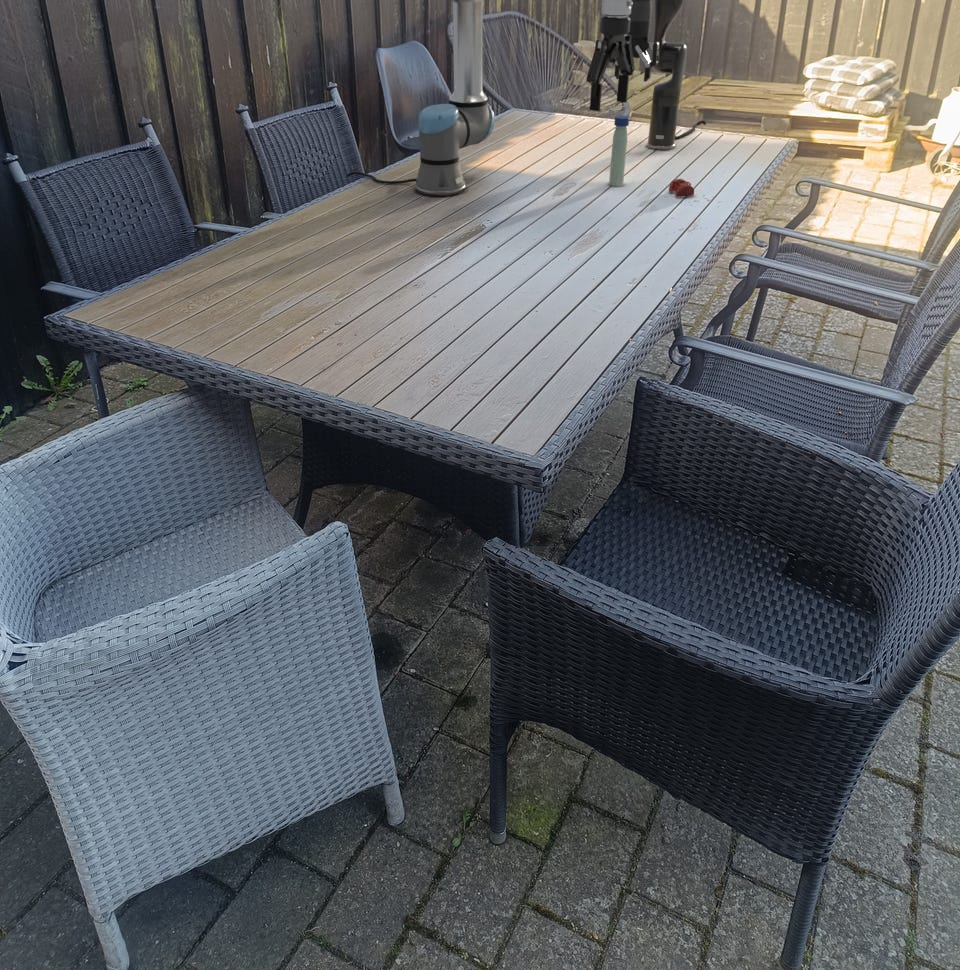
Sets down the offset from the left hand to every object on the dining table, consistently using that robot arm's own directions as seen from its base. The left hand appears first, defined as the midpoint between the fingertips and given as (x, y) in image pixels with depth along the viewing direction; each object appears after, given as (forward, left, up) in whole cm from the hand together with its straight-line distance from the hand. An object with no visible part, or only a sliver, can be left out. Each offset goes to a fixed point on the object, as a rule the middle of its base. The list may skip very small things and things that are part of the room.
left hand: (608, 106), depth 226 cm
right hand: (-11, +31, +1) cm, 33 cm away
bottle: (-10, +25, -28) cm, 39 cm away
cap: (-10, +25, -8) cm, 28 cm away
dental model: (+11, +29, -28) cm, 42 cm away
